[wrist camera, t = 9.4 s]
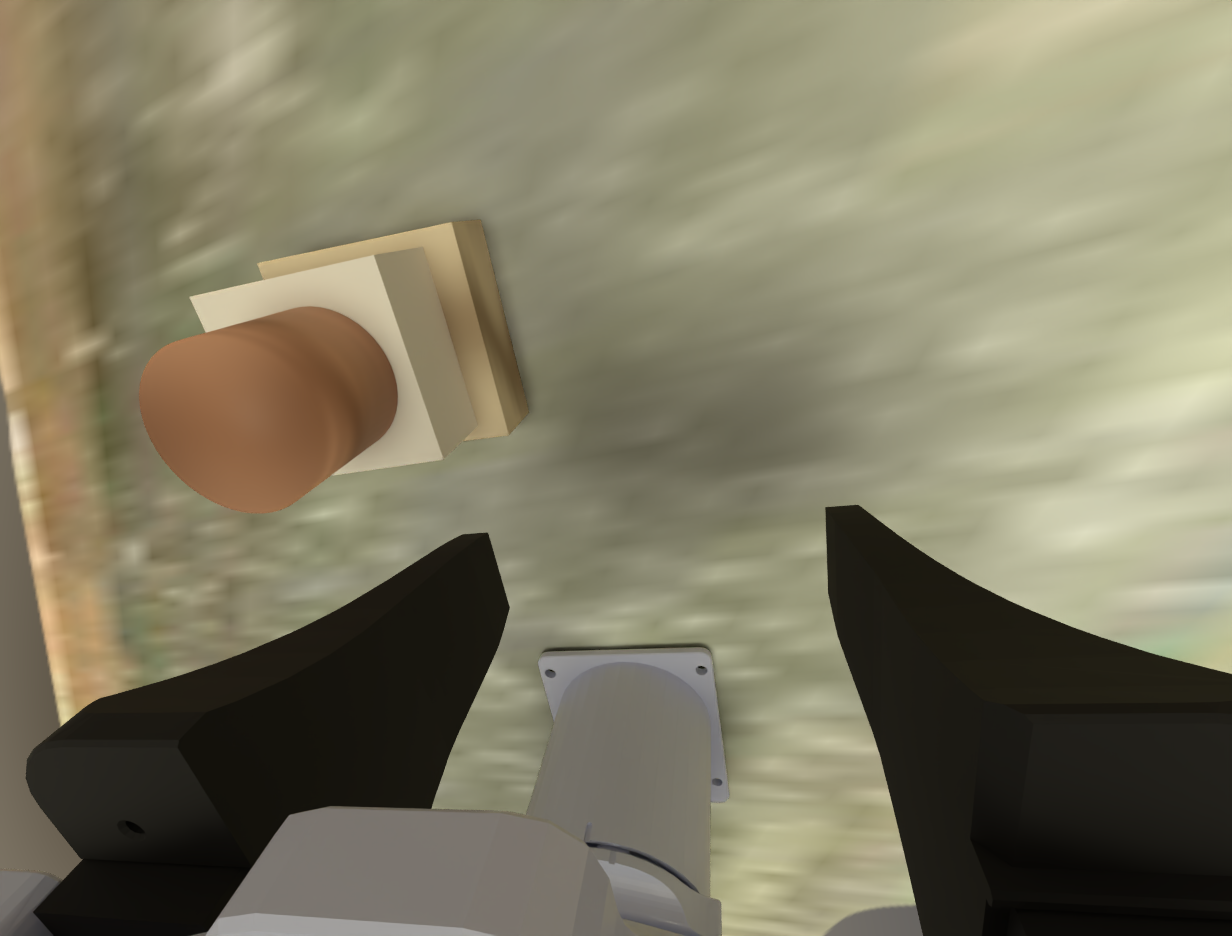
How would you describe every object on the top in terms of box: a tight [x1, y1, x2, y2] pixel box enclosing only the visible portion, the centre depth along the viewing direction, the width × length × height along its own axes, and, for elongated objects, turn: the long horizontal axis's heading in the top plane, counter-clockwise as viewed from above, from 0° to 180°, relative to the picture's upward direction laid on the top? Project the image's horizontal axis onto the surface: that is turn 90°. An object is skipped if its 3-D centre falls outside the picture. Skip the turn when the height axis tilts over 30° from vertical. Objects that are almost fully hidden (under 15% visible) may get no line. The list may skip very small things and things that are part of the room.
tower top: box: [190, 247, 478, 476], centre depth 19 cm, size 6×6×3 cm
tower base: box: [257, 220, 529, 441], centre depth 21 cm, size 7×7×3 cm
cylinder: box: [139, 306, 398, 513], centre depth 16 cm, size 4×4×4 cm
